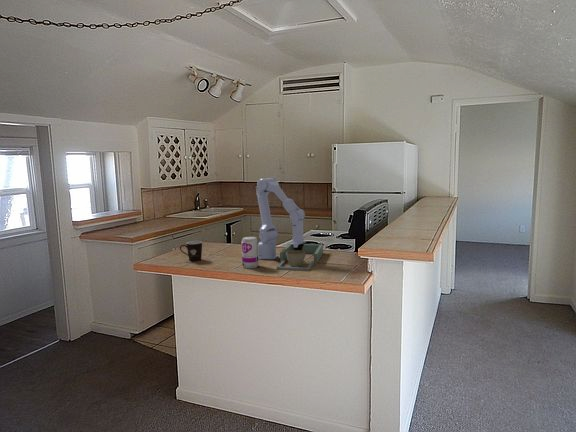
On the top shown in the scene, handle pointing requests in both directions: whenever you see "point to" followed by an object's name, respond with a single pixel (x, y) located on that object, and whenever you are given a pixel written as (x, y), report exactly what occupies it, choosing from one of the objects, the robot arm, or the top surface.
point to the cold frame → (308, 248)
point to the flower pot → (295, 257)
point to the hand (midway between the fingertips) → (298, 258)
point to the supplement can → (249, 252)
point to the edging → (294, 267)
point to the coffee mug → (193, 250)
